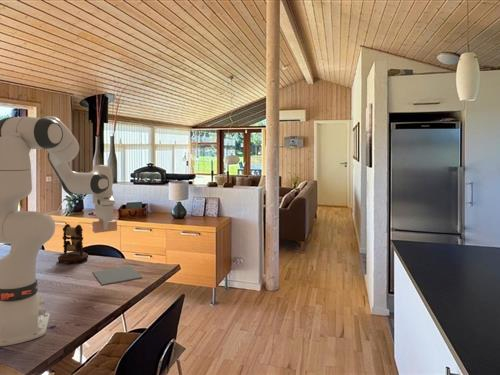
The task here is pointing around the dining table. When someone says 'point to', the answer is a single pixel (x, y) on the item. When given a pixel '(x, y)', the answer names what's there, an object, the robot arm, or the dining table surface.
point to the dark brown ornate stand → (73, 245)
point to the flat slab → (116, 275)
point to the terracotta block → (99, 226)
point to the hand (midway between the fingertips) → (103, 227)
